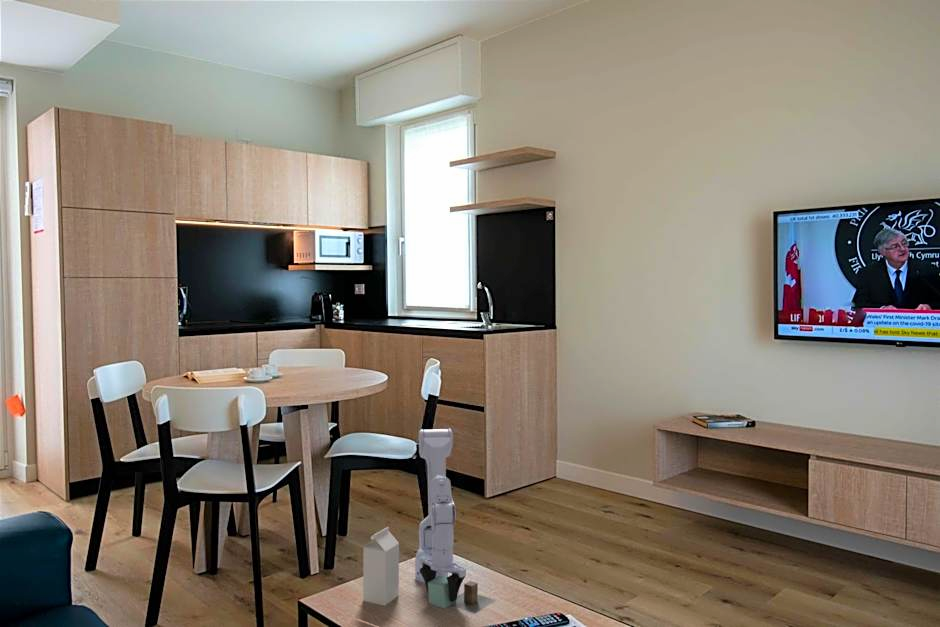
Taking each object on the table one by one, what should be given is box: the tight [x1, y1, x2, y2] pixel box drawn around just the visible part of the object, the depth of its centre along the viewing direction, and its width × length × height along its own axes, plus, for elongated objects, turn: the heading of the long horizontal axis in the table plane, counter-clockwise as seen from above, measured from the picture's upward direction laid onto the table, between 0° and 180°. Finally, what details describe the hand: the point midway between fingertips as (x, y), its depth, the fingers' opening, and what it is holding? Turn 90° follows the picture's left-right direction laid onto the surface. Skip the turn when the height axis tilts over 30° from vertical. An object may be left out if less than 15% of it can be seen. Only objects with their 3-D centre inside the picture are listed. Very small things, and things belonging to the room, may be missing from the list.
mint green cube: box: [427, 576, 456, 609], centre depth 184 cm, size 5×5×6 cm
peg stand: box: [450, 580, 497, 614], centre depth 185 cm, size 10×10×5 cm
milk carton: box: [362, 526, 400, 606], centre depth 186 cm, size 7×7×19 cm
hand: (442, 596), depth 184 cm, fingers open, 7 cm apart
